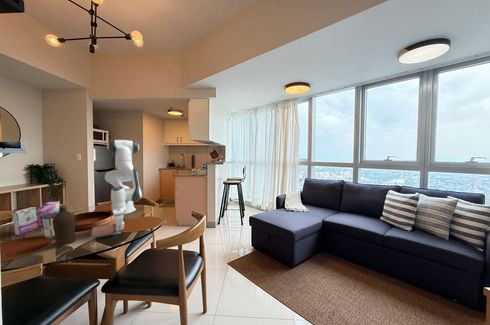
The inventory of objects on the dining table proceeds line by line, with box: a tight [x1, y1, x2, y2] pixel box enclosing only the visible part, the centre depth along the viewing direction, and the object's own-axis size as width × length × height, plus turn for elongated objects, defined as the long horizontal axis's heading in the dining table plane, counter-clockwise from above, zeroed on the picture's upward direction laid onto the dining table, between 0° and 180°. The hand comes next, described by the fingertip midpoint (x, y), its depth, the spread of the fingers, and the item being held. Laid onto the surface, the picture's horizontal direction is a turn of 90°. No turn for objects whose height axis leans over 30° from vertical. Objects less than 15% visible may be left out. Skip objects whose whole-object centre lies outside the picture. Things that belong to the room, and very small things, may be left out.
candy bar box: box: [11, 206, 40, 236], centre depth 146 cm, size 11×5×16 cm, turn 168°
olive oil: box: [52, 204, 77, 247], centre depth 130 cm, size 11×11×25 cm
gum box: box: [36, 200, 61, 227], centre depth 165 cm, size 24×8×14 cm, turn 28°
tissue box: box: [42, 212, 59, 237], centre depth 142 cm, size 10×10×14 cm
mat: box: [89, 230, 122, 240], centre depth 147 cm, size 12×28×1 cm, turn 120°
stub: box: [115, 220, 125, 232], centre depth 149 cm, size 5×5×5 cm
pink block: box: [91, 223, 115, 237], centre depth 144 cm, size 7×12×4 cm, turn 120°
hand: (120, 227), depth 149 cm, fingers closed on stub, 5 cm apart
